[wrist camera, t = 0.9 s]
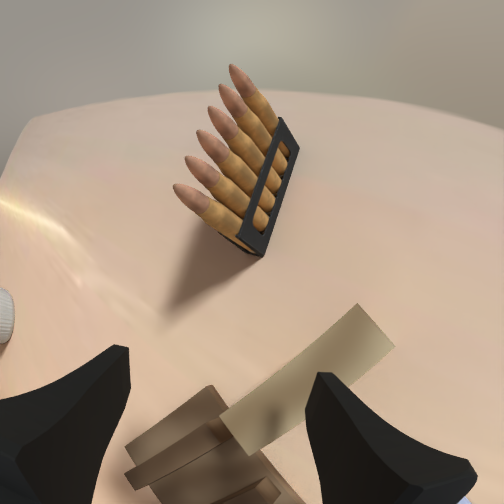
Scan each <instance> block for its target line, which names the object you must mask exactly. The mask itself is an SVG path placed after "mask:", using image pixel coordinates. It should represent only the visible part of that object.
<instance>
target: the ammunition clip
mask: <svg viewBox="0 0 504 504" xmlns="http://www.w3.org/2000/svg"><path fill="white" fill-rule="evenodd" d="M229 73H230V76H231V79H232V81H233V83H234V85H235V87H236V89H237V91H238V92H239V94H240V96H241V97H242V99H243V100H242V99H241V98H240V97H239V95H238V94H237V93H235V92H234V91H233V90H232V89H230V88H229V87H227V86H226V85H223V84H219V93H220V96H221V98H222V100H223V102H224V104H225V106H226V108H227V109H228V111H229V112H230V113H231V115H232V117H233V118H234V120H235V121H236V123H237V125H236V124H235V123H234V122H233V120H232V119H231V118H229V117H228V116H227V115H226V114H225V113H224V112H222V111H221V110H219V109H217V108H215V107H213V106H208V114H209V117H210V119H211V121H212V123H213V125H214V127H215V128H216V130H217V131H218V132H219V133H220V135H221V136H222V137H223V139H224V140H225V142H226V143H227V144H228V146H229V148H230V149H229V148H227V147H226V146H225V145H224V144H223V143H222V142H221V141H220V140H219V139H217V138H216V137H215V136H213V135H212V134H210V133H208V132H206V131H203V130H197V132H196V134H197V138H198V140H199V142H200V144H201V146H202V148H203V149H204V150H205V152H206V153H207V154H208V155H209V156H210V157H211V158H212V159H213V161H214V162H215V163H216V164H217V166H218V167H219V169H220V170H221V172H222V173H223V175H224V176H223V175H222V174H220V173H219V172H218V171H216V170H215V169H214V168H213V167H212V166H210V165H209V164H207V163H206V162H204V161H202V160H200V159H198V158H196V157H192V156H186V157H185V162H186V165H187V167H188V168H189V170H190V172H191V173H192V174H193V175H194V176H195V178H196V179H197V180H198V181H199V182H200V183H202V184H203V185H204V186H205V188H207V189H208V190H209V191H210V193H211V194H212V196H213V197H214V198H215V199H216V200H217V201H218V202H217V201H214V200H212V199H211V198H209V197H208V196H205V195H204V194H203V193H201V192H200V191H198V190H196V189H194V188H192V187H189V186H187V185H183V184H174V185H173V189H174V192H175V194H176V195H177V196H178V198H179V199H180V200H181V201H182V202H183V203H184V204H185V205H186V206H187V207H188V208H189V209H191V210H192V211H194V212H195V213H196V214H197V215H198V216H200V217H201V218H202V219H203V220H204V222H205V223H206V224H208V225H209V226H211V227H212V228H214V229H215V230H217V231H218V233H219V234H221V235H222V236H223V237H225V238H226V239H227V240H229V241H230V242H231V243H233V244H234V245H236V246H237V247H238V248H240V249H241V250H242V251H244V252H245V253H249V254H252V255H256V256H259V257H263V256H264V255H265V252H266V249H267V246H268V243H269V240H270V237H271V234H272V231H273V228H274V225H275V222H276V219H277V216H278V213H279V210H280V207H281V204H282V201H283V198H284V195H285V192H286V189H287V186H288V183H289V180H290V176H291V173H292V170H293V167H294V164H295V161H296V158H297V155H298V152H299V149H300V147H299V146H298V144H297V142H296V141H295V139H294V137H293V135H292V134H291V132H290V130H289V129H288V127H287V125H286V124H285V122H284V120H283V119H282V117H278V118H277V116H276V115H275V113H274V111H273V110H272V108H271V106H270V105H269V103H268V101H267V100H266V98H265V97H264V96H263V95H262V94H261V93H260V92H259V91H258V89H257V88H256V87H255V86H254V84H253V83H252V81H251V80H250V78H249V77H248V76H247V75H246V74H245V73H244V72H243V71H242V70H241V69H239V68H238V67H237V66H235V65H233V64H230V65H229ZM278 119H279V120H278ZM219 202H220V203H219Z"/></svg>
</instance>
